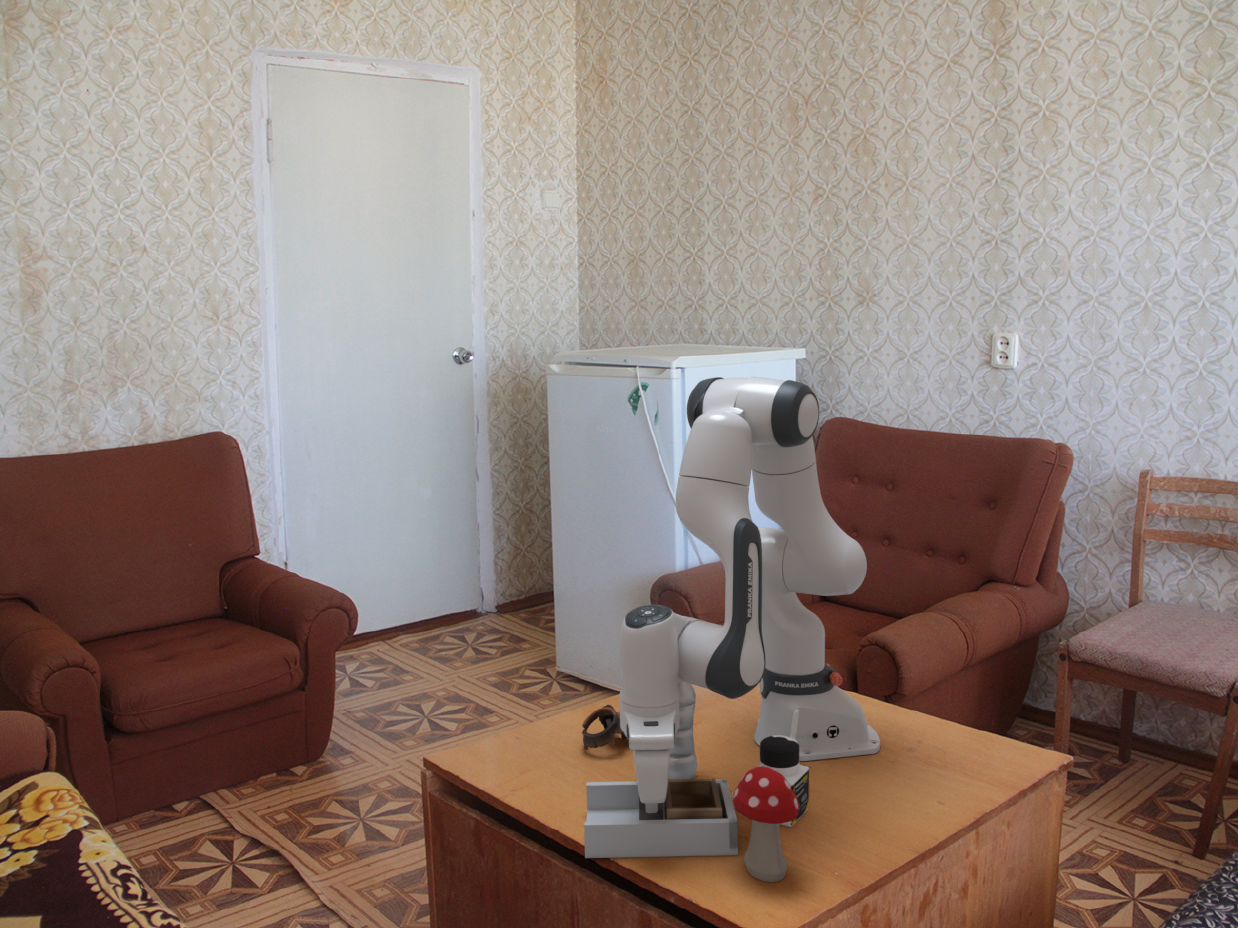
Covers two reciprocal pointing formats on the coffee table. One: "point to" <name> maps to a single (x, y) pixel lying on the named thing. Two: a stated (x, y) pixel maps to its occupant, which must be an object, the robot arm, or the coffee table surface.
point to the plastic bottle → (684, 736)
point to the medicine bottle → (787, 768)
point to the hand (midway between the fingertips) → (651, 803)
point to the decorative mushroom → (765, 820)
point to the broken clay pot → (609, 722)
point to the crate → (687, 801)
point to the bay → (652, 826)
